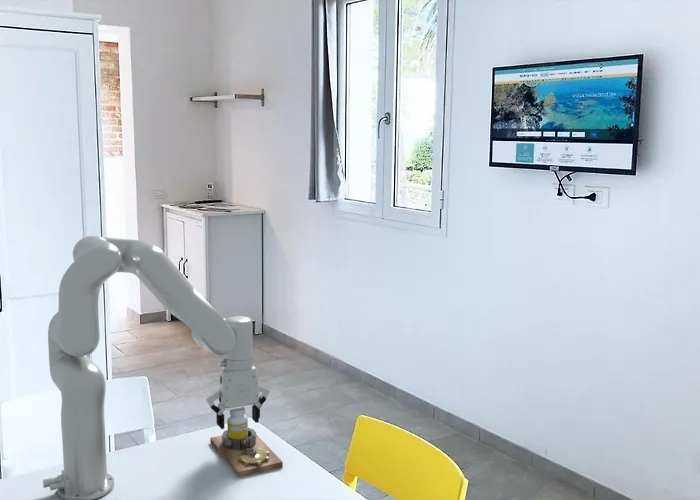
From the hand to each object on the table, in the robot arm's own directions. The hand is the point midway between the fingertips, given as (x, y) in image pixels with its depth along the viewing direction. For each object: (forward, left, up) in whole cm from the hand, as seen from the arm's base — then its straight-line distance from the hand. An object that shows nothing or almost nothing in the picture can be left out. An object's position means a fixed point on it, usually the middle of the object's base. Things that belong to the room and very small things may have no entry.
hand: (238, 424), depth 191 cm
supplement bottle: (0, 0, -6) cm, 6 cm away
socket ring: (0, 0, -5) cm, 5 cm away
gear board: (0, -4, -7) cm, 8 cm away
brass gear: (0, -10, -5) cm, 12 cm away
